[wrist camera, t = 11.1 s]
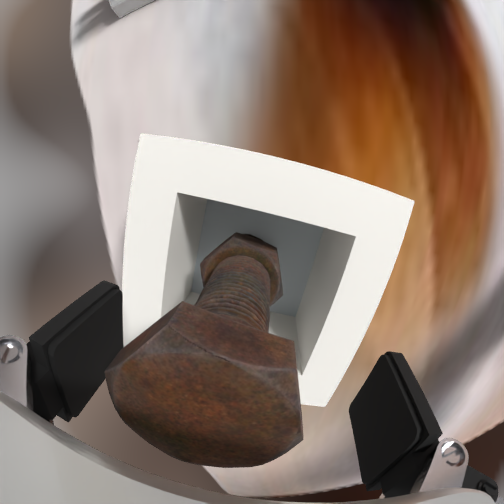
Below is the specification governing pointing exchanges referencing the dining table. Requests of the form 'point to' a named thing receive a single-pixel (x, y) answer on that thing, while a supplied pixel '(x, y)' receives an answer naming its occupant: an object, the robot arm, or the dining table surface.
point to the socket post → (270, 231)
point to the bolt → (215, 367)
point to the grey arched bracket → (127, 6)
